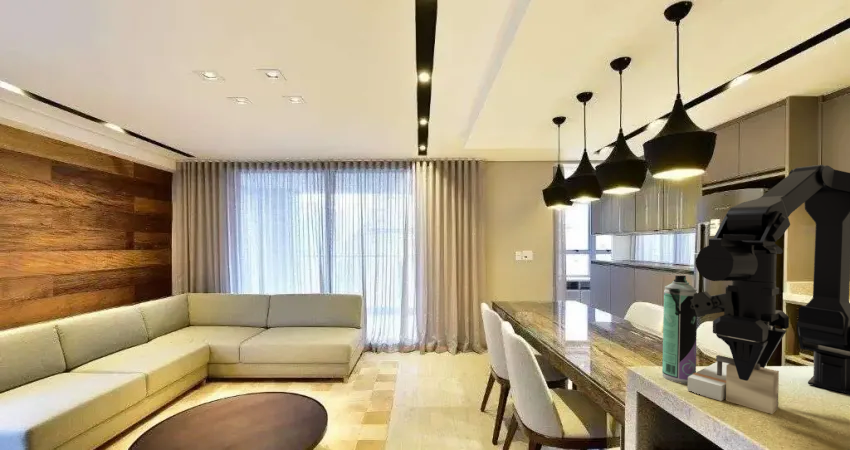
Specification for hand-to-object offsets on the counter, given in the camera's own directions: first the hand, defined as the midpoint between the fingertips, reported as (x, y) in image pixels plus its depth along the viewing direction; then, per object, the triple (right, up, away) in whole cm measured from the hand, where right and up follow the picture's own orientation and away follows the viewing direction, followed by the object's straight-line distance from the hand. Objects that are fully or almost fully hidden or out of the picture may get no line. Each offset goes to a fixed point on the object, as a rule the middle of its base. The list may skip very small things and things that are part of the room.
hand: (751, 374), depth 66 cm
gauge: (0, -5, 0) cm, 5 cm away
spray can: (-5, -5, +11) cm, 13 cm away
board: (+1, -5, +8) cm, 10 cm away
